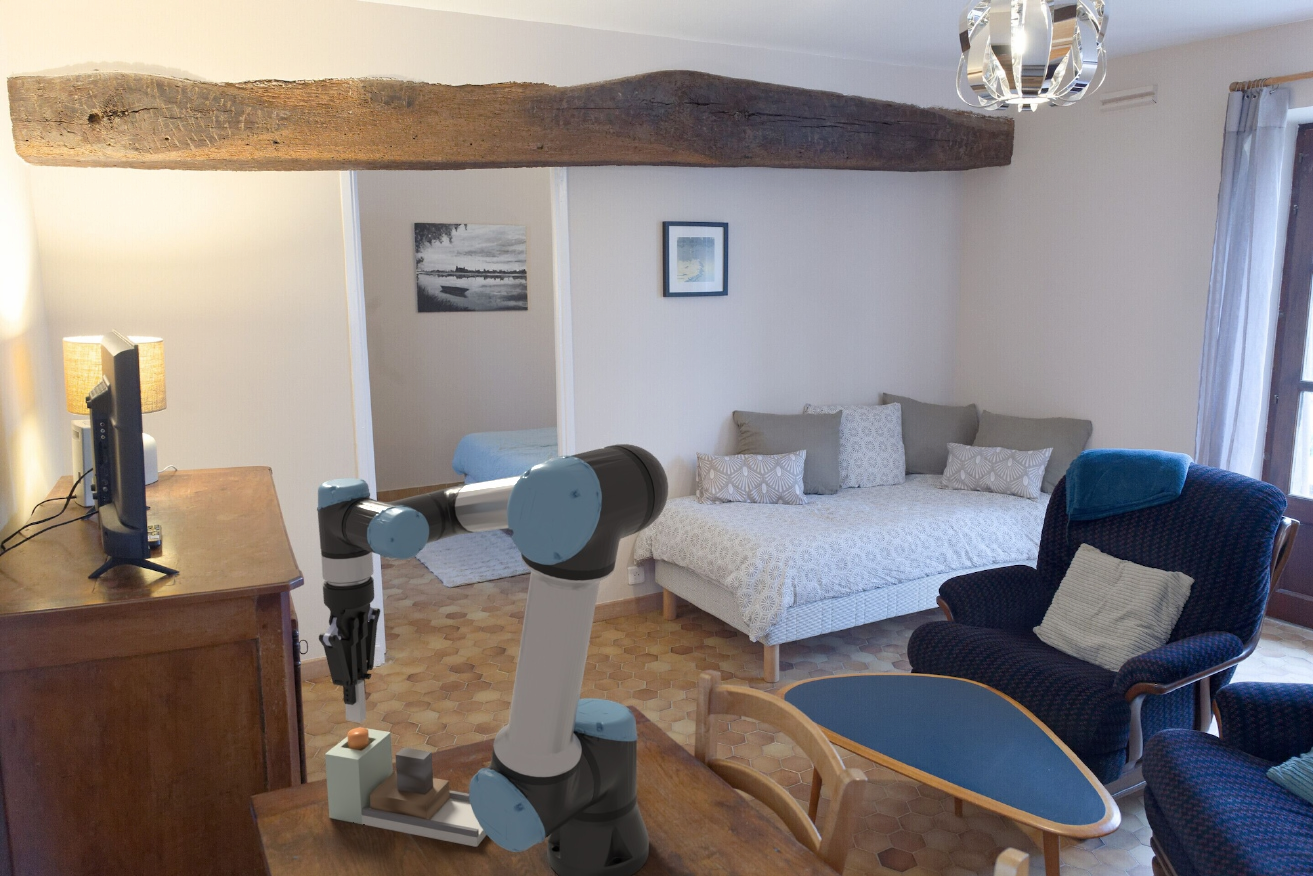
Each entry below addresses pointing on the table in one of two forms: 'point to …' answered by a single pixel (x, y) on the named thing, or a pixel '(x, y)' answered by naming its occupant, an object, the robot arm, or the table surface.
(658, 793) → the table surface
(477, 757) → the table surface
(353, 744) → the button
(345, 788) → the end cabinet
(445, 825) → the track
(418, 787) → the carriage
